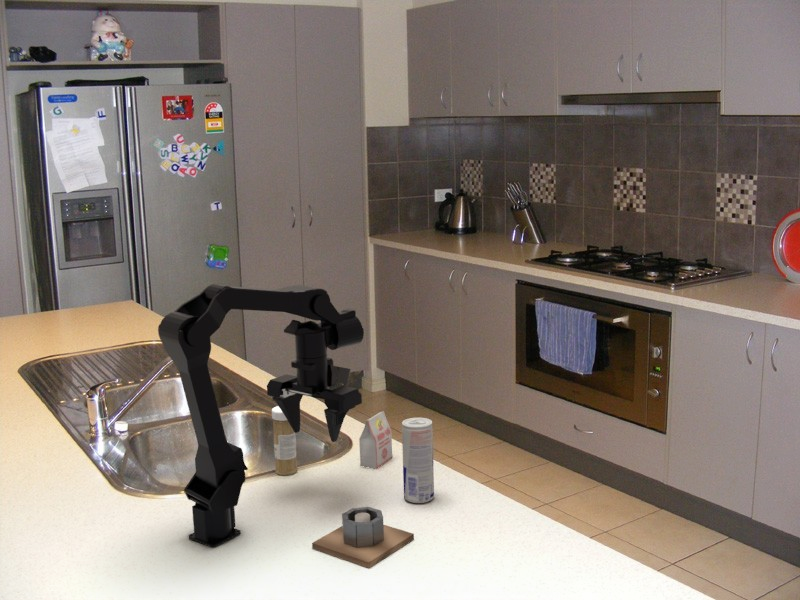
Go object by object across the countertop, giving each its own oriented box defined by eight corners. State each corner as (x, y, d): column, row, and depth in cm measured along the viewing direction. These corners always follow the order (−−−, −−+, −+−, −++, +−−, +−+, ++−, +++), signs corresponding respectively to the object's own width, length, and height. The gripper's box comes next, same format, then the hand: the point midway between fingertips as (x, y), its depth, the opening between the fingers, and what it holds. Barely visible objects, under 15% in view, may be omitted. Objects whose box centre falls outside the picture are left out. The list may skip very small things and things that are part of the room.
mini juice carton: (360, 466, 186) (358, 419, 184) (376, 455, 192) (375, 409, 190) (376, 469, 184) (374, 422, 182) (392, 458, 190) (390, 412, 188)
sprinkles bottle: (275, 468, 186) (271, 405, 184) (298, 466, 187) (294, 403, 184) (274, 476, 182) (271, 412, 179) (297, 475, 182) (294, 410, 180)
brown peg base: (368, 568, 144) (367, 538, 143) (312, 548, 151) (310, 520, 150) (413, 539, 153) (413, 511, 152) (358, 522, 160) (357, 495, 159)
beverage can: (440, 497, 170) (438, 420, 167) (420, 507, 166) (418, 428, 163) (417, 490, 173) (416, 414, 170) (397, 499, 169) (395, 422, 166)
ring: (366, 551, 147) (365, 527, 147) (335, 540, 151) (334, 518, 151) (391, 535, 153) (390, 513, 152) (360, 526, 157) (359, 504, 156)
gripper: (379, 351, 166) (382, 433, 170) (303, 339, 178) (307, 416, 181) (339, 365, 158) (343, 451, 161) (262, 351, 169) (267, 432, 172)
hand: (315, 436), depth 169 cm, fingers open, 9 cm apart
